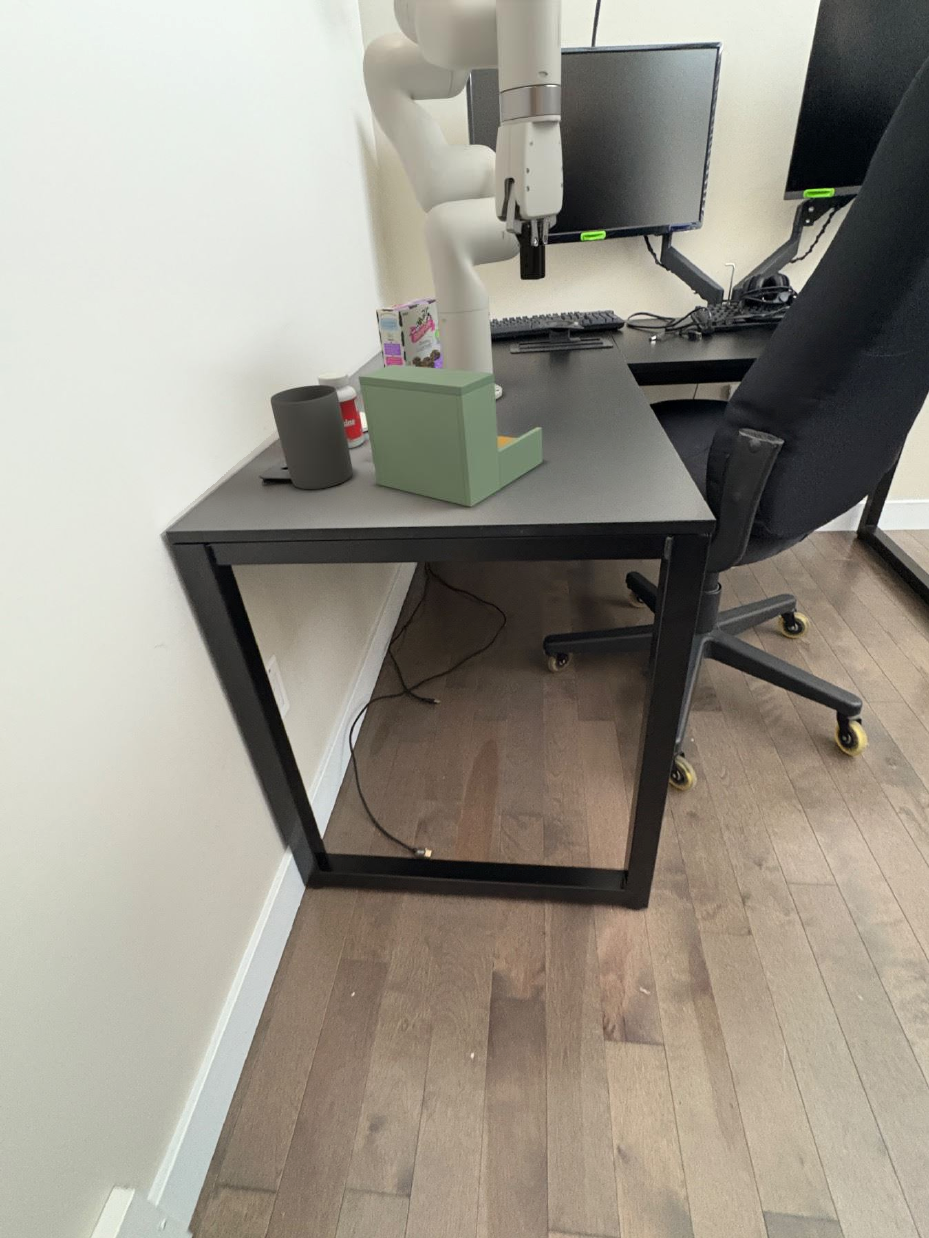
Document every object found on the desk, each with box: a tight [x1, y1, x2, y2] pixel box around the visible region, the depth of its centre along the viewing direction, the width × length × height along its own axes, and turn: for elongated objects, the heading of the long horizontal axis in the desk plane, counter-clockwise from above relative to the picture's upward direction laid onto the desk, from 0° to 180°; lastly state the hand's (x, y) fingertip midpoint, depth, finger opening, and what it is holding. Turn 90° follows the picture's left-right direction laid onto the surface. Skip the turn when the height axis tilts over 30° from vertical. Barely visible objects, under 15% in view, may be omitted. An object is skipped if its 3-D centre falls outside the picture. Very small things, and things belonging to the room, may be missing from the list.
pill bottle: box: [317, 370, 365, 450], centre depth 97 cm, size 6×6×11 cm
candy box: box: [375, 298, 443, 369], centre depth 120 cm, size 14×6×16 cm, turn 148°
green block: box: [358, 365, 543, 508], centre depth 81 cm, size 17×17×14 cm
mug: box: [270, 384, 353, 490], centre depth 86 cm, size 14×9×12 cm
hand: (532, 278), depth 85 cm, fingers closed
